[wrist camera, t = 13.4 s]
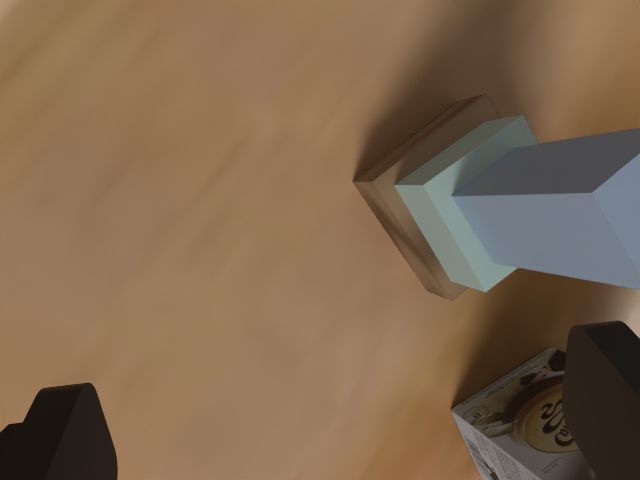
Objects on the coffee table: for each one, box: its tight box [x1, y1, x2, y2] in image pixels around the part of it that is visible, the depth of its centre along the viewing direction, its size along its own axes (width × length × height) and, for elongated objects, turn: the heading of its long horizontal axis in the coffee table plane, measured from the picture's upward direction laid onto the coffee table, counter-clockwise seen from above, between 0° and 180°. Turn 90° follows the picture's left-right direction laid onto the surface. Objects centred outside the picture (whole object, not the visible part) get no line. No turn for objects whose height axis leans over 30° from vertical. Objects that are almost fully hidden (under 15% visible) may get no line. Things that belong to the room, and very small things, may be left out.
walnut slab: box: [353, 94, 501, 301], centre depth 39 cm, size 9×9×4 cm
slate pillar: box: [451, 128, 640, 289], centre depth 28 cm, size 4×4×11 cm
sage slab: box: [394, 115, 538, 292], centre depth 35 cm, size 7×7×4 cm
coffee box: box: [451, 347, 598, 480], centre depth 36 cm, size 9×6×16 cm
